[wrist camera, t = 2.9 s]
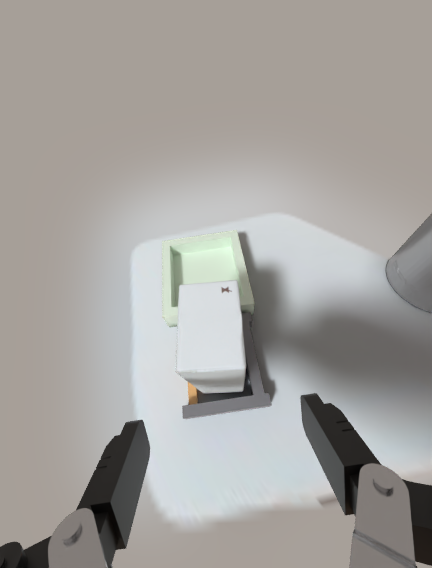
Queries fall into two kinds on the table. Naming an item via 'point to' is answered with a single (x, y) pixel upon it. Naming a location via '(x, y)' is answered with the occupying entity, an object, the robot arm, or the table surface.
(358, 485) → the robot arm
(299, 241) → the table surface
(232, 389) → the skincare box
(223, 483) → the table surface
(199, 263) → the parts tray
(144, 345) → the table surface
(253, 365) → the grey shallow square tray
